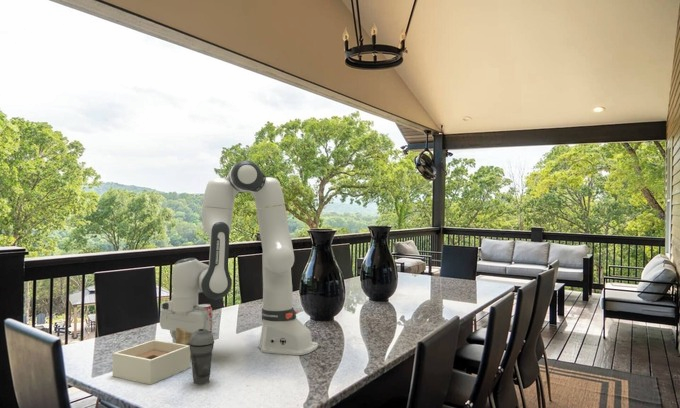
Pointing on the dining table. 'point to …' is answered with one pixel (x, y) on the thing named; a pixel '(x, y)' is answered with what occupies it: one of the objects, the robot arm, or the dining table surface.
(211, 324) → the soda can
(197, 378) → the beverage cup
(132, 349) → the bore box
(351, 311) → the dining table surface
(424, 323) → the dining table surface
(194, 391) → the dining table surface
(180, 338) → the peg
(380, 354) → the dining table surface
